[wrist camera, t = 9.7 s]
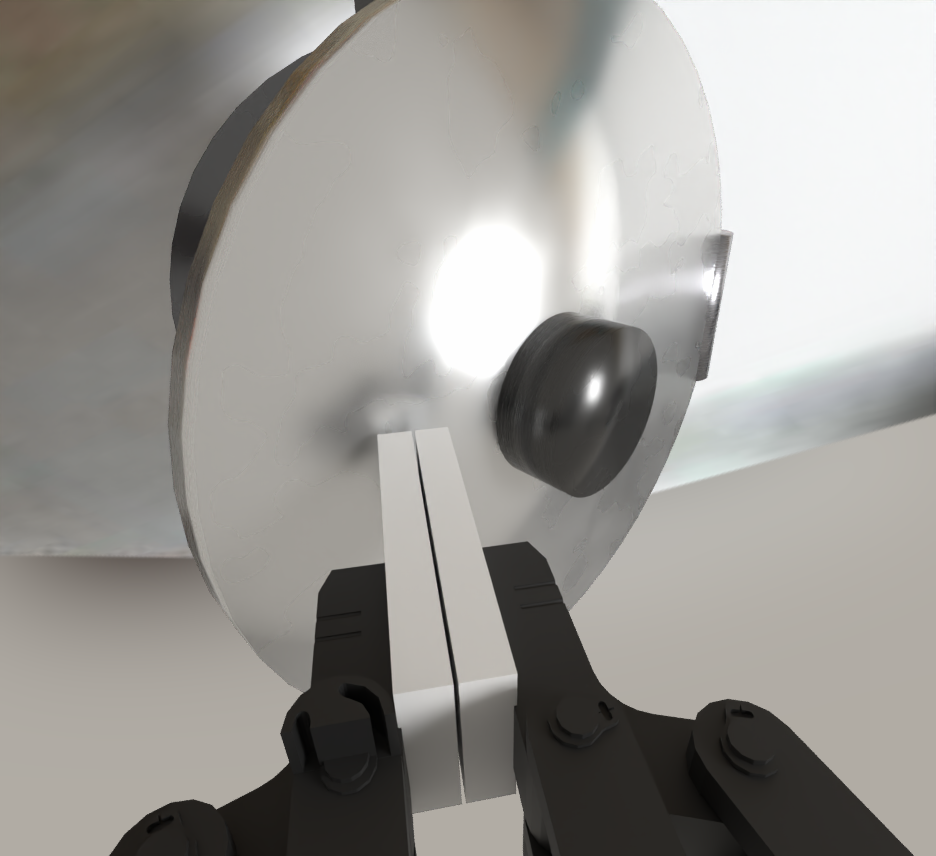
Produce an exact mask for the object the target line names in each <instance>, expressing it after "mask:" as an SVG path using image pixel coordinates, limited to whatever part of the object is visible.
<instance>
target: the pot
mask: <svg viewBox="0 0 936 856" xmlns="http://www.w3.org/2000/svg"><path fill="white" fill-rule="evenodd" d="M373 1H374V0H354V2H355V11H356V13H357V12H359V11H360V10H361V9H363V8H364V7H366V6H367V5H369V4H370V3H371V2H373ZM311 53H312V52H311ZM311 53H309V54H307V55H304V56H302V57H301V58H299V59H298V60H296V61H295V62H293V63H292V64H290V65H288V66H287V67H285V68H284V69H282V70H281V71H279V72H278V73H276V74H275V75H273V76H272V77H270V78H269V79H267V80H266V81H265V82H264V83H263V84H262V85H261V86H260V87H259V88H258V89H256V90H255V91H254V92H253V93H252V94H251V95H250V96H249V97H248V98H247V99H246V100H244V101H243V102H242V103H241V104H240V105H239V106H238V107H237V108H236V109H235V111H234V112H233V113H232V114H231V116H230V117H229V118H228V119H227V121H226V122H225V123H224V124H223V126H222V127H221V128H220V130H219V131H218V132H217V133H216V135H215V136H214V137H213V139H212V140H211V142H210V144H209V146H208V147H207V149H206V151H205V153H204V154H203V156H202V158H201V160H200V161H199V163H198V165H197V167H196V168H195V170H194V172H193V175H192V177H191V180H190V182H189V185H188V188H187V190H186V193H185V196H184V198H183V201H182V203H181V206H180V210H179V214H178V219H177V223H176V228H175V233H174V237H173V242H172V253H171V268H170V289H171V302H172V314H173V319H174V323H175V328H176V331H177V326H178V321H179V316H180V311H181V306H182V301H183V296H184V291H185V287H186V282H187V277H188V274H189V271H190V268H191V265H192V262H193V259H194V257H195V254H196V251H197V248H198V245H199V242H200V240H201V237H202V234H203V231H204V228H205V225H206V222H207V220H208V217H209V214H210V211H211V208H212V205H213V202H214V200H215V198H216V196H217V195H218V193H219V191H220V189H221V187H222V185H223V183H224V181H225V179H226V177H227V175H228V173H229V171H230V169H231V167H232V165H233V163H234V162H235V160H236V158H237V156H238V154H239V152H240V150H241V148H242V146H243V144H244V142H245V140H246V138H247V136H248V134H249V133H250V131H251V130H252V128H253V127H254V126H255V124H256V123H257V121H258V120H259V119H260V117H261V116H262V114H263V113H264V112H265V110H266V109H267V107H268V106H269V105H270V103H271V102H272V100H273V99H274V98H275V96H276V95H277V94H278V92H279V91H280V89H281V88H282V87H283V85H284V84H285V82H286V81H287V80H288V78H289V77H290V75H291V74H292V73H293V72H294V71H295V70H296V69H297V68H298V67H299V66H300V65H301V63H302V62H303V61H304V60H305V59H306V58H307V57H308V56H309V55H310V54H311Z"/></svg>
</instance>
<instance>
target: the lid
mask: <svg viewBox="0 0 936 856" xmlns="http://www.w3.org/2000/svg"><path fill="white" fill-rule="evenodd" d="M721 216H722V206H721V183H720V170H719V162H718V153H717V145H716V138H715V134H714V129H713V124H712V120H711V115H710V110H709V106H708V103H707V100H706V97H705V93H704V90H703V87H702V84H701V81H700V78H699V75H698V72H697V70H696V68H695V66H694V63H693V61H692V59H691V57H690V55H689V53H688V51H687V48H686V46H685V44H684V42H683V40H682V38H681V37H680V35H679V34H678V32H677V31H676V29H675V28H674V26H673V25H672V23H671V22H670V20H669V19H668V17H667V16H666V14H665V13H664V11H663V10H662V9H661V8H660V7H659V6H658V5H657V4H656V3H655V2H654V0H374V1H373V2H371V3H370V4H369V5H367V6H366V7H364V8H363V9H361V10H360V11H359V12H357V13H356V14H354V15H353V16H351V17H350V18H349V19H347V20H346V21H344V22H343V23H341V24H340V25H339V26H338V27H337V28H336V29H335V30H334V31H333V32H332V33H331V34H330V35H329V36H328V37H327V38H326V39H325V40H324V41H323V42H322V43H321V44H320V45H319V46H318V47H317V48H316V49H315V50H314V51H313V52H312V53H311V54H310V55H309V56H308V57H307V58H306V59H305V60H304V61H303V62H302V63H301V65H300V66H299V67H298V68H297V69H296V70H295V71H294V72H293V73H292V74H291V75H290V77H289V78H288V80H287V81H286V82H285V84H284V85H283V87H282V88H281V89H280V91H279V92H278V94H277V95H276V96H275V98H274V99H273V100H272V102H271V103H270V105H269V106H268V107H267V109H266V110H265V112H264V113H263V114H262V116H261V117H260V119H259V120H258V121H257V123H256V124H255V126H254V127H253V128H252V130H251V131H250V133H249V134H248V136H247V138H246V140H245V142H244V144H243V146H242V148H241V150H240V152H239V154H238V156H237V158H236V160H235V162H234V163H233V165H232V167H231V169H230V171H229V173H228V175H227V177H226V179H225V181H224V183H223V185H222V187H221V189H220V191H219V193H218V195H217V196H216V198H215V200H214V202H213V205H212V208H211V211H210V214H209V217H208V220H207V222H206V225H205V228H204V231H203V234H202V237H201V240H200V242H199V245H198V248H197V251H196V254H195V257H194V259H193V262H192V265H191V268H190V271H189V274H188V277H187V282H186V287H185V291H184V296H183V301H182V306H181V311H180V316H179V321H178V326H177V331H176V336H175V341H174V346H173V351H172V365H171V382H170V399H169V416H168V429H169V440H170V451H171V462H172V474H173V485H174V491H175V495H176V499H177V503H178V507H179V511H180V515H181V519H182V523H183V527H184V531H185V535H186V538H187V542H188V546H189V548H190V550H191V553H192V555H193V557H194V559H195V561H196V563H197V566H198V568H199V570H200V572H201V575H202V577H203V579H204V581H205V583H206V586H207V588H208V590H209V592H210V593H211V595H212V596H213V598H214V599H215V600H216V602H217V603H218V605H219V606H220V607H221V609H222V610H223V612H224V613H225V614H226V616H227V617H228V618H229V620H230V621H231V622H232V624H233V626H234V627H235V628H236V630H237V631H238V632H239V633H240V635H241V636H242V637H243V638H244V640H245V641H246V642H247V643H248V644H249V646H250V647H251V648H252V649H253V651H254V652H255V653H256V654H257V655H258V657H259V658H260V659H261V660H262V661H264V662H265V663H266V664H267V665H268V666H269V667H270V668H271V669H272V670H273V671H274V672H276V673H277V674H278V675H279V676H280V677H281V678H282V679H283V680H285V681H286V682H287V683H288V684H289V685H291V686H293V687H295V688H296V689H298V690H300V691H302V692H306V691H307V690H309V689H310V688H311V675H312V663H313V650H314V643H315V626H316V621H317V620H316V613H317V601H318V592H319V591H320V589H321V587H322V586H323V584H324V582H325V580H326V579H327V577H328V575H329V574H330V572H331V570H336V569H343V568H351V567H358V566H365V565H372V564H379V563H385V554H384V538H383V521H382V504H381V488H380V471H379V455H378V438H377V435H379V434H388V433H397V432H406V431H412V437H413V443H414V450H415V456H416V462H417V454H416V443H415V432H414V431H415V430H424V429H433V428H442V427H448V429H449V432H450V436H451V439H452V443H453V447H454V450H455V454H456V457H457V461H458V464H459V468H460V471H461V475H462V478H463V482H464V486H465V489H466V493H467V496H468V500H469V503H470V507H471V510H472V514H473V518H474V521H475V525H476V528H477V532H478V535H479V539H480V542H481V546H482V547H490V546H497V545H504V544H511V543H518V542H526V541H528V542H529V543H530V544H531V545H532V546H533V547H534V548H535V549H537V550H538V551H539V552H540V553H541V554H542V555H543V556H544V557H545V558H546V559H547V562H548V564H549V566H550V569H551V571H552V574H553V576H554V578H555V583H556V585H557V586H558V588H559V590H560V593H561V595H562V598H563V603H565V605H566V607H567V610H568V612H569V611H570V609H571V608H572V607H573V606H574V605H575V604H576V603H577V601H578V600H579V599H580V598H581V597H582V596H583V595H584V594H585V592H586V591H587V590H588V589H589V587H590V586H591V585H592V584H593V582H594V581H595V580H596V578H597V577H598V576H599V575H600V573H601V572H602V571H603V569H604V568H605V567H606V565H607V564H608V562H609V561H610V559H611V558H612V557H613V555H614V554H615V552H616V551H617V549H618V548H619V546H620V545H621V544H622V542H623V540H624V539H625V537H626V535H627V534H628V532H629V530H630V529H631V527H632V526H633V524H634V522H635V521H636V519H637V518H638V516H639V514H640V512H641V510H642V508H643V506H644V505H645V503H646V501H647V499H648V497H649V496H650V494H651V492H652V490H653V488H654V486H655V484H656V482H657V480H658V478H659V476H660V473H661V471H662V469H663V467H664V465H665V463H666V461H667V458H668V456H669V454H670V451H671V449H672V447H673V444H674V442H675V440H676V437H677V435H678V432H679V430H680V427H681V424H682V421H683V419H684V416H685V413H686V411H687V408H688V405H689V402H690V399H691V396H692V392H693V389H694V386H695V383H696V381H700V380H704V379H706V378H707V376H708V371H709V365H710V360H711V354H712V349H713V343H714V338H715V332H716V327H717V321H718V316H719V310H720V305H721V299H722V294H723V288H724V283H725V277H726V272H727V266H728V261H729V255H730V250H731V244H732V239H733V233H732V232H730V231H726V230H721ZM417 468H418V465H417Z"/></svg>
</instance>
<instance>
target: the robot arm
mask: <svg viewBox="0 0 936 856" xmlns="http://www.w3.org/2000/svg"><path fill="white" fill-rule="evenodd" d="M414 432H415V443H416V454H417V462H416V456H415V450H414V443H413V437H412V431H406V432H397V433H388V434H379V435H377V438H378V455H379V471H380V488H381V504H382V521H383V538H384V554H385V563H379V564H372V565H365V566H358V567H351V568H343V569H336V570H331V572H330V574H329V575H328V577H327V579H326V580H325V582H324V584H323V586H322V587H321V589H320V591H319V592H318V601H317V613H316V620H317V621H316V626H315V643H314V650H313V663H312V675H311V688H310V689H309V690H307V691H306V692H304V693H303V694H302V695H300V697H299V698H298V699H297V701H296V702H295V703H294V704H293V706H292V707H291V709H290V710H289V711H288V712H287V715H286V718H285V721H284V724H283V727H282V730H281V733H280V734H281V737H282V740H283V743H284V746H285V750H286V753H287V756H288V759H289V764H288V765H287V766H286V767H285V768H284V769H283V770H282V771H281V772H280V773H279V774H278V775H276V776H275V777H274V778H273V779H271V780H270V781H268V782H267V783H265V784H264V785H262V786H260V787H259V788H257V789H255V790H253V791H251V792H249V793H248V794H246V795H244V796H242V797H240V798H238V799H236V800H234V801H232V802H230V803H228V804H226V805H225V806H223V807H220V808H218V809H217V810H216V809H215V808H214V807H213V806H212V805H210V804H207V803H204V802H200V801H197V800H194V799H193V800H186V801H179V802H173V803H169V804H167V805H165V806H163V807H161V808H159V809H157V810H155V811H153V812H152V813H149V814H147V815H146V816H145V817H144V818H143V819H142V820H140V821H139V822H138V823H137V824H136V825H135V826H133V827H132V828H131V829H130V830H129V831H128V832H127V833H126V834H125V835H124V836H123V837H122V839H121V840H120V842H119V843H118V844H117V846H116V847H115V849H114V850H113V851H112V853H111V854H110V856H416V849H415V842H414V830H413V817H412V814H414V813H418V812H424V811H429V810H434V809H439V808H444V807H449V806H455V805H460V804H462V801H461V787H460V786H461V785H460V771H459V760H460V766H461V772H462V779H463V785H464V792H465V797H466V803H470V802H475V801H480V800H485V799H491V798H496V797H500V796H505V795H511V794H516V782H517V786H518V789H519V794H520V798H521V803H522V807H523V811H524V824H523V856H913V854H912V853H911V852H910V851H909V850H908V849H907V848H906V847H905V846H904V845H903V844H902V843H901V842H900V841H899V840H898V839H897V838H896V837H895V836H894V835H893V834H892V833H891V832H890V831H889V830H888V829H887V828H886V827H885V825H884V824H883V823H882V822H881V821H880V820H879V819H878V818H877V817H876V816H875V815H874V814H873V813H872V812H871V811H870V810H869V809H868V808H867V807H866V806H865V805H864V804H863V803H862V802H861V801H860V800H859V799H858V798H857V797H856V796H855V795H854V794H853V793H852V792H851V791H850V790H849V788H848V787H847V786H846V785H845V784H844V783H843V782H842V781H841V780H840V779H839V778H838V777H837V776H836V775H835V774H834V773H833V772H832V771H831V770H830V769H829V768H828V767H827V766H826V765H825V764H824V763H823V762H822V761H821V760H820V759H819V758H818V757H817V756H816V755H815V753H814V752H812V750H811V749H810V748H809V747H807V745H806V744H805V743H804V742H803V741H802V740H801V739H800V738H799V737H798V736H797V735H796V734H795V733H794V732H793V731H792V730H791V729H790V728H789V727H788V726H787V725H786V724H784V723H783V722H782V721H781V720H779V719H778V718H777V717H776V716H774V715H773V714H772V713H770V712H769V711H767V710H765V709H763V708H761V707H758V706H756V705H754V704H752V703H749V702H745V701H738V700H731V699H726V700H721V701H716V702H712V703H709V704H708V705H707V706H706V707H705V708H703V709H702V710H701V711H700V712H699V713H698V714H697V717H696V720H691V719H684V718H677V717H669V716H663V715H656V714H650V713H647V712H643V711H639V710H636V709H634V708H631V707H629V706H627V705H625V704H623V703H621V702H620V701H619V700H617V699H616V698H615V697H613V696H612V695H610V694H609V693H608V691H606V689H605V688H604V687H603V686H602V685H601V684H600V682H599V681H598V679H597V677H596V675H595V674H594V672H593V670H592V667H591V665H590V662H589V661H588V658H587V655H586V653H585V650H584V648H583V646H582V643H581V641H580V638H579V636H578V634H577V631H576V629H575V627H574V624H573V622H572V619H571V617H570V615H569V612H568V610H567V607H566V605H565V603H563V598H562V595H561V593H560V590H559V588H558V586H557V585H556V583H555V578H554V576H553V574H552V571H551V569H550V566H549V564H548V562H547V559H546V558H545V557H544V556H543V555H542V554H541V553H540V552H539V551H538V550H537V549H535V548H534V547H533V546H532V545H531V544H530V543H529V542H528V541H526V542H518V543H511V544H504V545H497V546H490V547H482V546H481V542H480V539H479V535H478V532H477V528H476V525H475V521H474V518H473V514H472V510H471V507H470V503H469V500H468V496H467V493H466V489H465V486H464V482H463V478H462V475H461V471H460V468H459V464H458V461H457V457H456V454H455V450H454V447H453V443H452V439H451V436H450V432H449V429H448V427H442V428H433V429H424V430H415V431H414ZM417 465H418V468H417ZM458 753H459V757H458Z"/></svg>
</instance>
